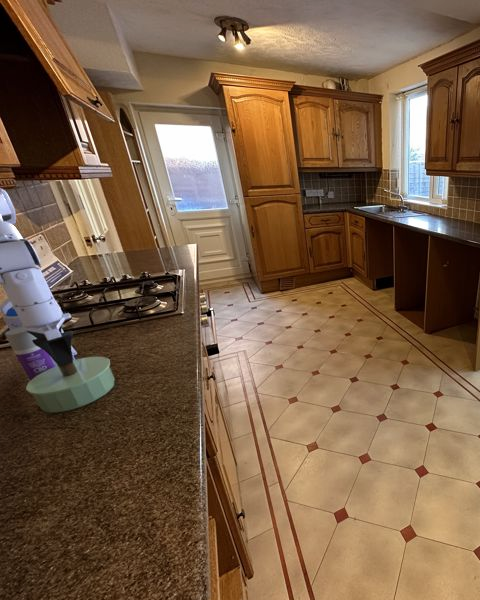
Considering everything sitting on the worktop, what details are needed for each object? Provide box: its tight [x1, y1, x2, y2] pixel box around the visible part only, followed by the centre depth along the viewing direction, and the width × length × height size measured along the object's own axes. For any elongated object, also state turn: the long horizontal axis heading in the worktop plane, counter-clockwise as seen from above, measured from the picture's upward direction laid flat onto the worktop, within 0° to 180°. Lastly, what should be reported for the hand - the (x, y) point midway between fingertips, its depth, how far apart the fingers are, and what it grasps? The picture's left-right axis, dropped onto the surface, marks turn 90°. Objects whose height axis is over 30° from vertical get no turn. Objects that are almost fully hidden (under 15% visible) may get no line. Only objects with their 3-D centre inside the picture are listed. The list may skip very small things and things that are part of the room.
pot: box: [32, 366, 116, 414], centre depth 73 cm, size 13×13×5 cm
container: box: [4, 327, 55, 382], centre depth 74 cm, size 5×5×15 cm
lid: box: [25, 356, 111, 396], centre depth 72 cm, size 14×14×5 cm
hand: (62, 358), depth 70 cm, fingers open, 7 cm apart
